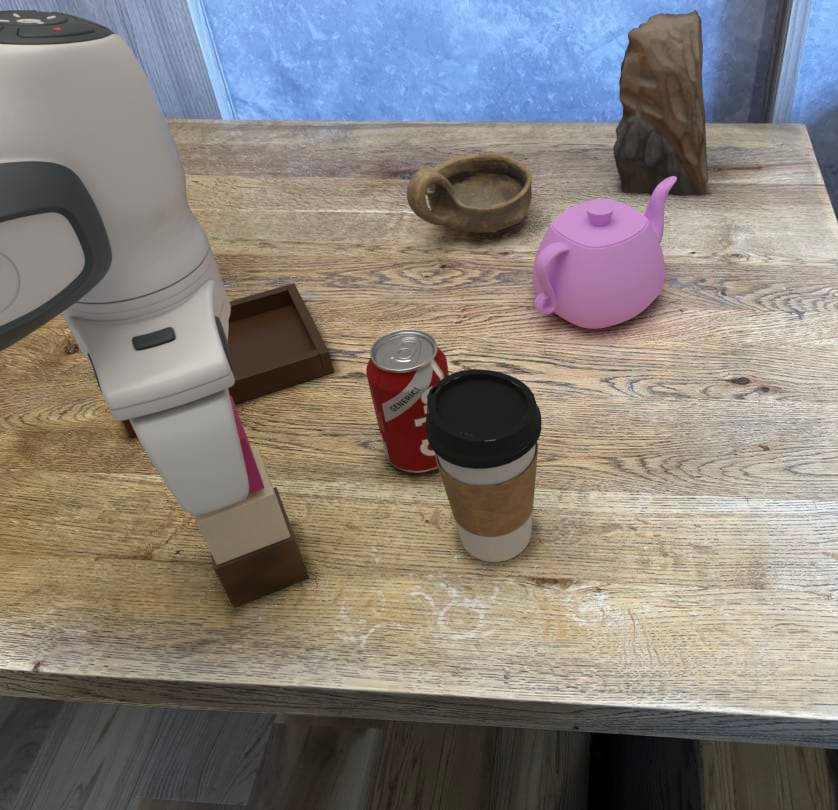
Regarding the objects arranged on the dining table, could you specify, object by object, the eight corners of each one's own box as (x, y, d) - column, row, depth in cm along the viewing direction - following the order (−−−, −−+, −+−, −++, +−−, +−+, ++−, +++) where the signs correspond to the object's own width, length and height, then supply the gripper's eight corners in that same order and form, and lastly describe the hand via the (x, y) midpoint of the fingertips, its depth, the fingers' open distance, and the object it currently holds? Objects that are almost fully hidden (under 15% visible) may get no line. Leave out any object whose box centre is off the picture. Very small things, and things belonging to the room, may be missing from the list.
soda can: (374, 471, 73) (348, 369, 65) (401, 420, 78) (380, 319, 70) (445, 483, 72) (428, 380, 64) (468, 431, 77) (455, 329, 69)
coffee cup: (467, 486, 72) (448, 353, 62) (559, 507, 70) (555, 373, 59) (429, 561, 66) (401, 428, 56) (528, 586, 64) (518, 453, 54)
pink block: (192, 514, 56) (168, 464, 53) (181, 467, 60) (158, 417, 56) (264, 488, 58) (246, 438, 55) (250, 444, 61) (231, 395, 58)
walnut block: (233, 608, 63) (214, 569, 60) (219, 553, 67) (200, 513, 64) (309, 578, 65) (294, 538, 62) (291, 526, 69) (276, 486, 66)
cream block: (217, 565, 60) (195, 522, 57) (204, 514, 64) (183, 471, 60) (290, 537, 62) (274, 493, 58) (273, 489, 65) (257, 445, 62)
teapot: (579, 362, 84) (579, 264, 76) (499, 306, 92) (492, 212, 84) (709, 286, 93) (722, 192, 85) (627, 241, 101) (631, 151, 93)
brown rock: (611, 194, 110) (615, 39, 96) (615, 152, 119) (619, 5, 105) (707, 196, 108) (724, 39, 95) (703, 153, 118) (719, 5, 104)
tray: (130, 438, 78) (119, 417, 76) (115, 357, 87) (105, 336, 85) (334, 372, 84) (328, 351, 82) (300, 303, 93) (294, 282, 91)
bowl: (558, 219, 105) (556, 145, 99) (453, 274, 97) (443, 197, 90) (488, 184, 113) (482, 114, 106) (385, 232, 104) (371, 159, 98)
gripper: (78, 236, 54) (150, 391, 64) (107, 420, 41) (193, 584, 50) (175, 212, 57) (231, 367, 66) (235, 381, 43) (295, 546, 52)
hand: (215, 462), depth 58 cm, fingers closed on pink block, 5 cm apart
